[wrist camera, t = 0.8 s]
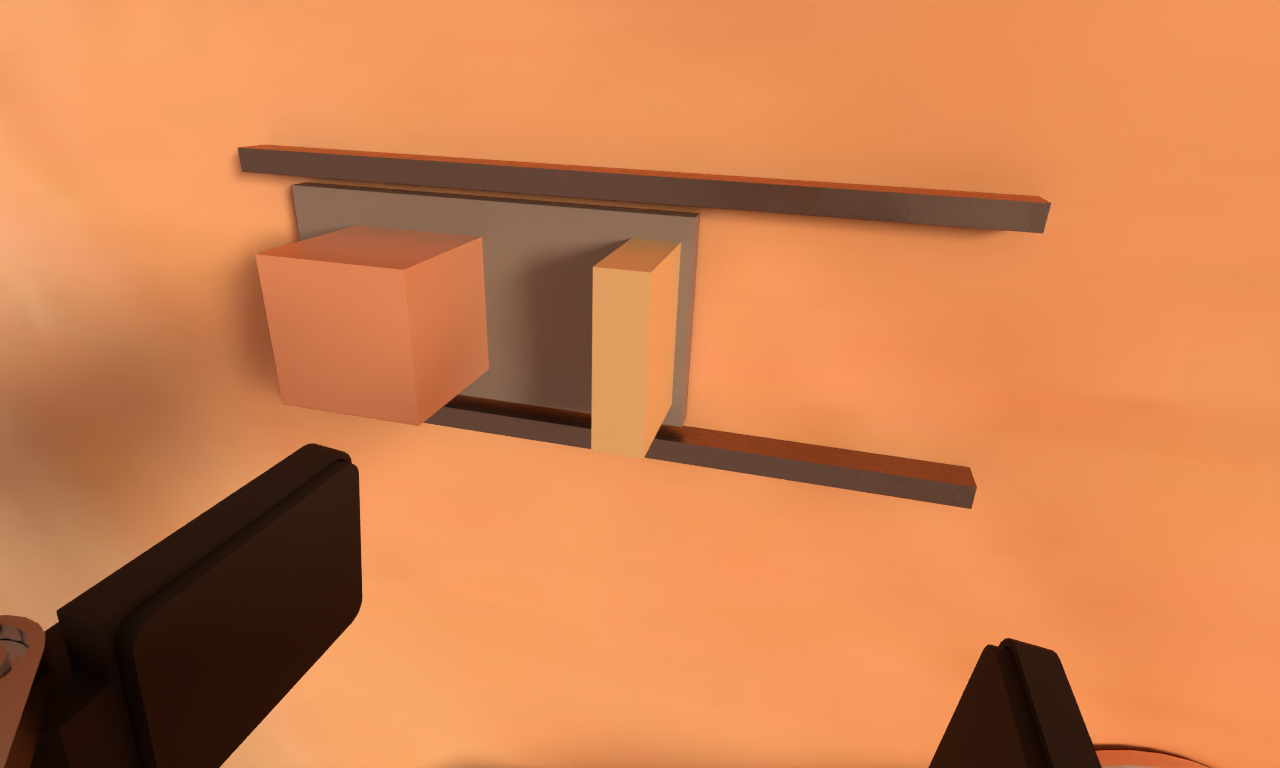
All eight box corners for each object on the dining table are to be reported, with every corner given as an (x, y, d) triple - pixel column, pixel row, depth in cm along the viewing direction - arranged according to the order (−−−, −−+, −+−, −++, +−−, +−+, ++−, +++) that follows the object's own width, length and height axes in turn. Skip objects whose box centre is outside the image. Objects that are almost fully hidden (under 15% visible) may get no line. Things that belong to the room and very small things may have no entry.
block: (489, 369, 32) (419, 425, 27) (371, 353, 33) (283, 404, 28) (482, 236, 30) (403, 270, 24) (356, 225, 31) (255, 254, 26)
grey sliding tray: (700, 213, 28) (667, 243, 23) (686, 417, 32) (655, 484, 26) (306, 182, 32) (199, 201, 26) (334, 367, 35) (244, 417, 30)
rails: (964, 488, 30) (970, 508, 28) (305, 388, 37) (284, 400, 35) (1038, 196, 25) (1050, 203, 23) (264, 144, 32) (237, 147, 30)
